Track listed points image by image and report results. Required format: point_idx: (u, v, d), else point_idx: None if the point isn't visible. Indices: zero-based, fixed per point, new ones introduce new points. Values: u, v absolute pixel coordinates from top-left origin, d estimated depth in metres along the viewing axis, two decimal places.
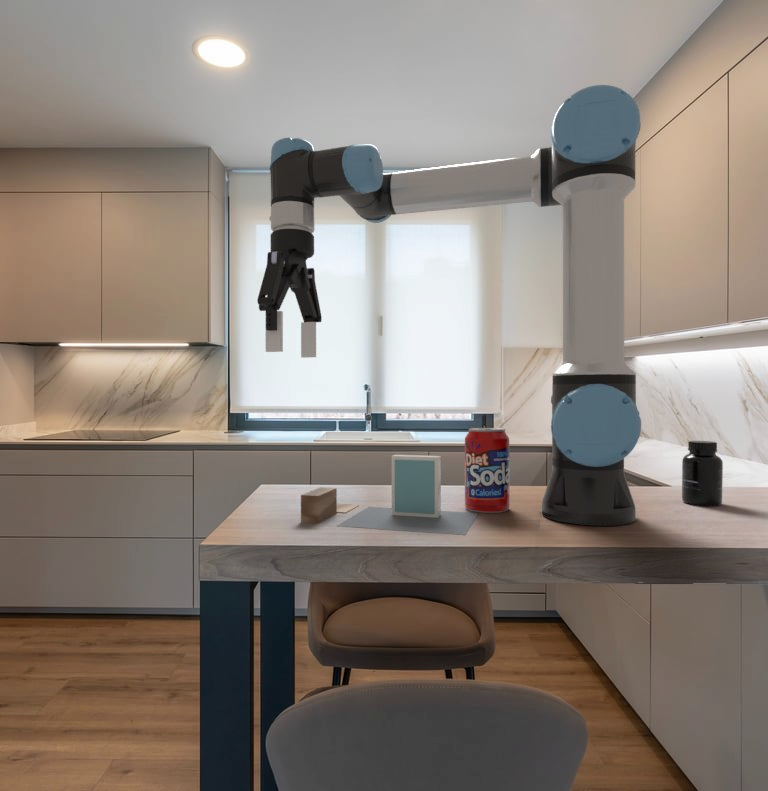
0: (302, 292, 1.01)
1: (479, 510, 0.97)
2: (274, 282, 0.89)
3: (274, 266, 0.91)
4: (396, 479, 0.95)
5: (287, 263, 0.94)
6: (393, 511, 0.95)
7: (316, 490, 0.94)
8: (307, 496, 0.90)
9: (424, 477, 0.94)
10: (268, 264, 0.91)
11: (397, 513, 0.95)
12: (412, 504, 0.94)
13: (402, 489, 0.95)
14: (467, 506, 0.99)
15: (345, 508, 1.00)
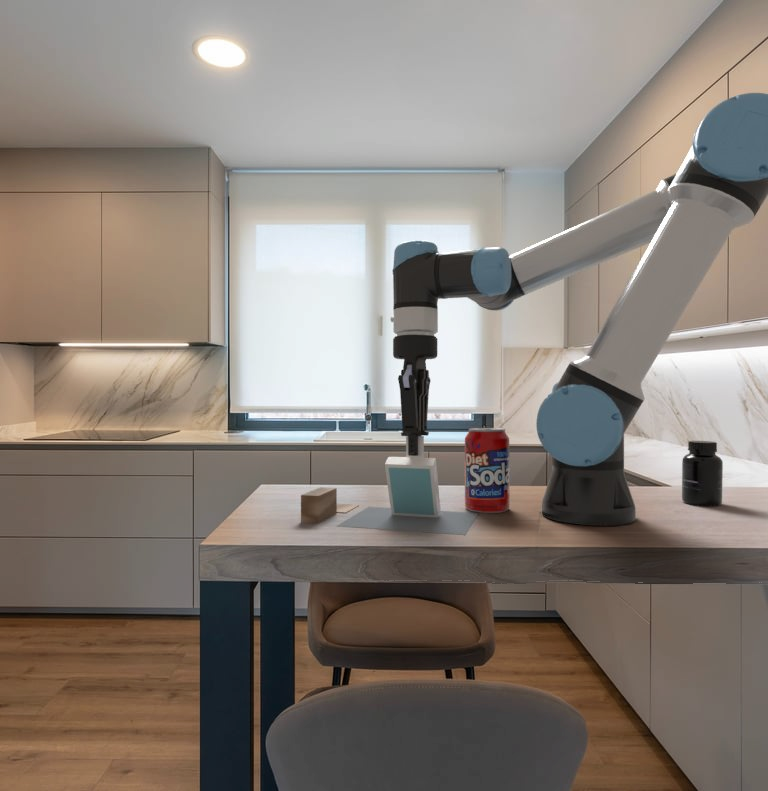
0: None
1: (479, 510, 0.97)
2: (414, 412, 0.91)
3: (409, 392, 0.90)
4: (392, 485, 0.93)
5: (415, 373, 0.92)
6: (393, 512, 0.95)
7: (316, 490, 0.94)
8: (307, 496, 0.90)
9: (420, 483, 0.91)
10: (401, 389, 0.90)
11: (397, 513, 0.95)
12: (411, 506, 0.93)
13: (399, 494, 0.93)
14: (467, 506, 0.99)
15: (345, 508, 1.00)
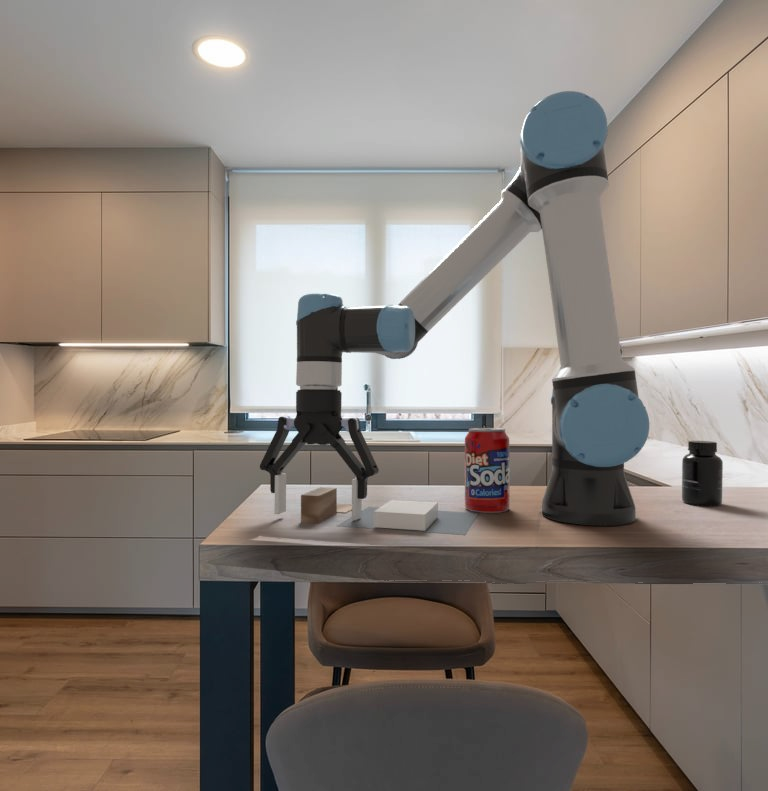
0: None
1: (479, 510, 0.97)
2: (268, 449, 0.95)
3: None
4: None
5: (294, 425, 0.94)
6: None
7: (316, 490, 0.94)
8: (307, 496, 0.90)
9: None
10: None
11: None
12: None
13: None
14: (467, 506, 0.99)
15: (345, 508, 1.00)
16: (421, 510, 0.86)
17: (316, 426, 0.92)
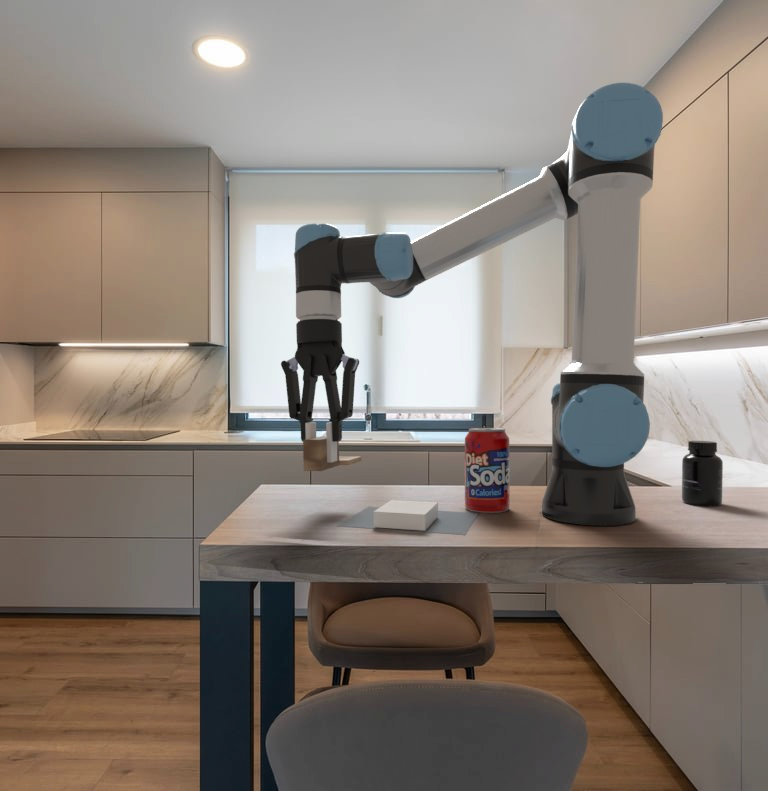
0: None
1: (479, 510, 0.97)
2: None
3: None
4: None
5: (298, 360, 0.94)
6: None
7: (318, 437, 0.94)
8: (309, 440, 0.90)
9: None
10: None
11: None
12: None
13: None
14: (467, 506, 0.99)
15: (347, 458, 1.00)
16: (421, 510, 0.86)
17: (317, 357, 0.92)
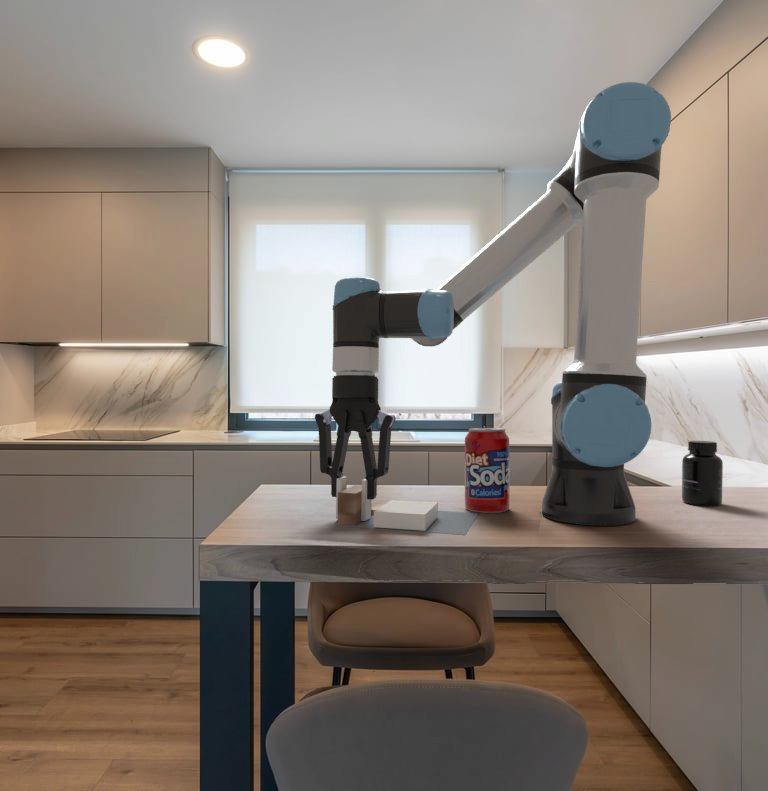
0: None
1: (479, 510, 0.97)
2: (319, 450, 0.92)
3: None
4: None
5: (332, 414, 0.92)
6: None
7: (351, 488, 0.93)
8: (344, 494, 0.88)
9: None
10: None
11: None
12: None
13: None
14: (467, 506, 0.99)
15: (379, 506, 0.99)
16: (421, 510, 0.86)
17: (353, 413, 0.91)
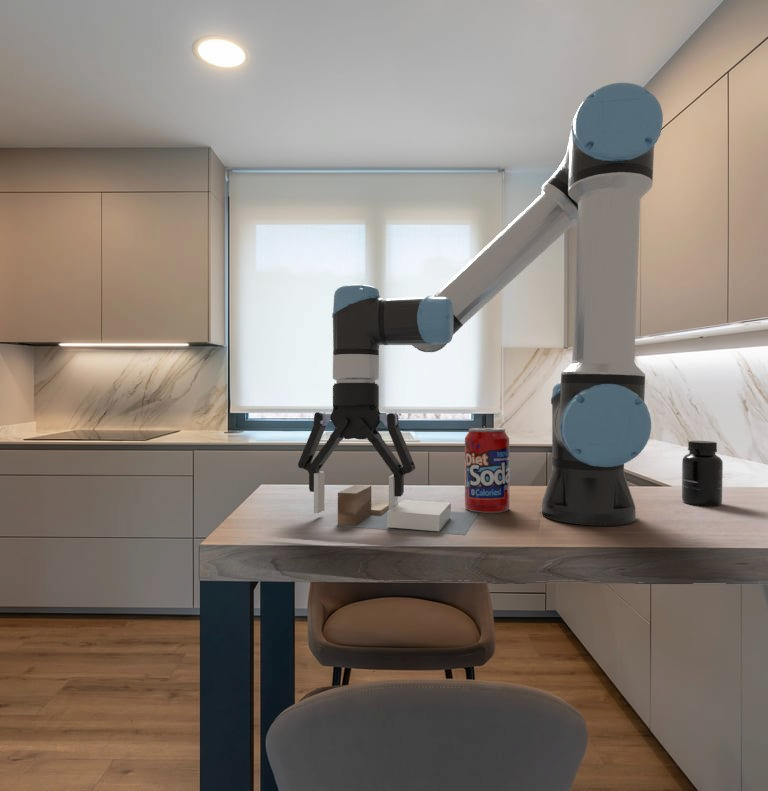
0: None
1: (479, 510, 0.97)
2: (305, 446, 0.93)
3: None
4: None
5: (331, 420, 0.92)
6: None
7: (351, 488, 0.93)
8: (344, 494, 0.88)
9: None
10: None
11: None
12: None
13: None
14: (467, 506, 0.99)
15: (379, 506, 0.99)
16: (435, 510, 0.86)
17: (354, 420, 0.91)
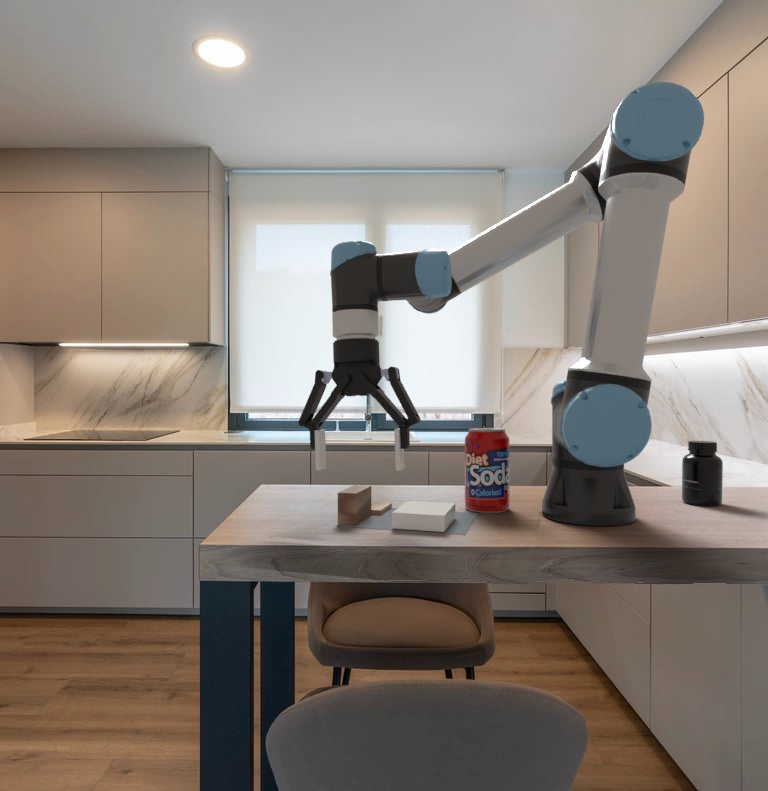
0: None
1: (479, 510, 0.97)
2: (306, 404, 0.93)
3: None
4: None
5: (332, 378, 0.92)
6: None
7: (351, 488, 0.93)
8: (344, 494, 0.88)
9: None
10: None
11: None
12: None
13: None
14: (467, 506, 0.99)
15: (379, 506, 0.99)
16: (440, 511, 0.86)
17: (355, 377, 0.91)
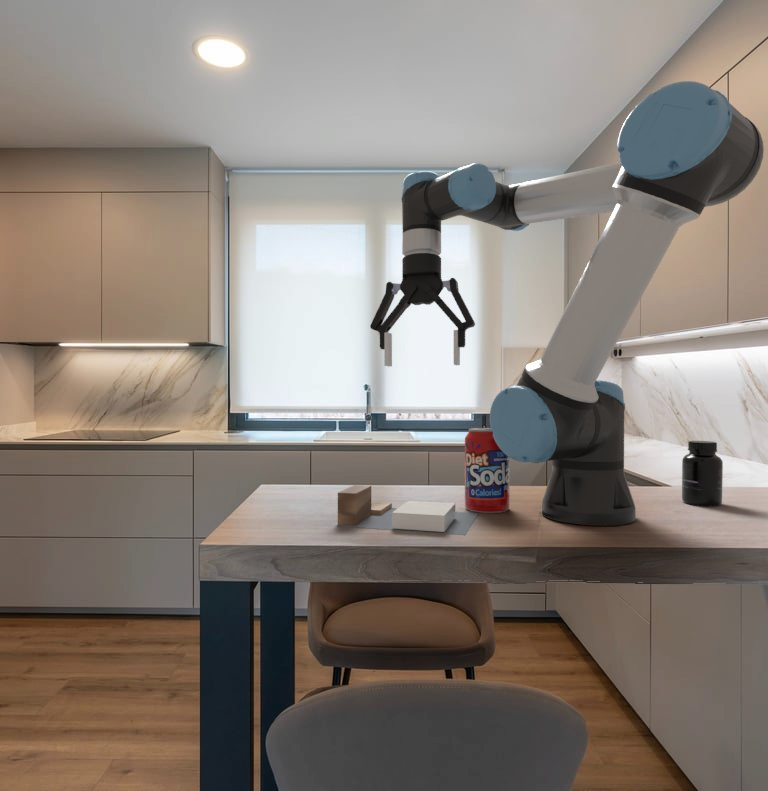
0: None
1: (479, 510, 0.97)
2: (377, 311, 1.10)
3: None
4: None
5: (401, 288, 1.09)
6: None
7: (351, 488, 0.93)
8: (344, 494, 0.88)
9: None
10: None
11: None
12: None
13: None
14: (467, 506, 0.99)
15: (379, 506, 0.99)
16: (440, 511, 0.86)
17: (421, 287, 1.08)
